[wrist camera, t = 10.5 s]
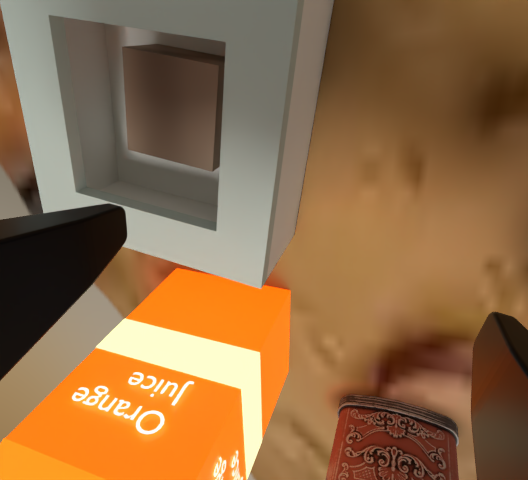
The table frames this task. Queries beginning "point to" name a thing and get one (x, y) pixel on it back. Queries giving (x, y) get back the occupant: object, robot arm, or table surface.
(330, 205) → the table surface
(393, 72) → the table surface
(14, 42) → the slot box
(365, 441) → the ornate red flask
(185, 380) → the orange juice
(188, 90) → the brown square block
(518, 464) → the robot arm
